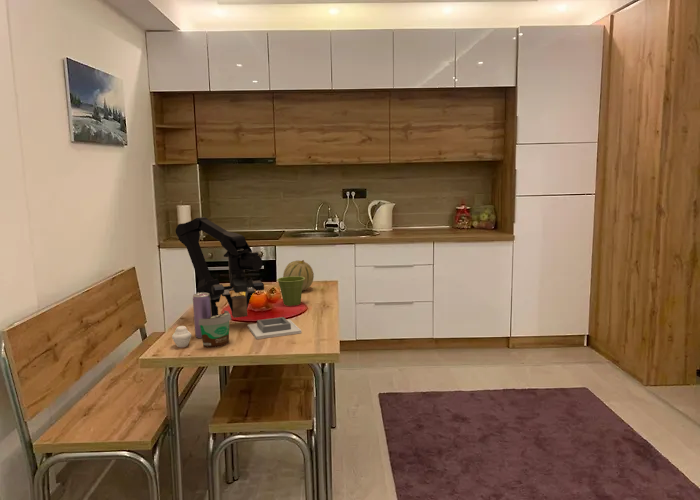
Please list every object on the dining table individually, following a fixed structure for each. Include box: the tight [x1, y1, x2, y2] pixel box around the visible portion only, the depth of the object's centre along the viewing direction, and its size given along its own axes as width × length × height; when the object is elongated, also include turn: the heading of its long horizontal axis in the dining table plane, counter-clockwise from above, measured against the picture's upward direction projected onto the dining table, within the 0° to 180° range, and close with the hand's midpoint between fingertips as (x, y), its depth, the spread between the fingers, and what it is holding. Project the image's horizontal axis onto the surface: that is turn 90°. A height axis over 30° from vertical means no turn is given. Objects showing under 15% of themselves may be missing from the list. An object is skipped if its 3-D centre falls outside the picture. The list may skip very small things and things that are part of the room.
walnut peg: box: [231, 294, 248, 319], centre depth 199 cm, size 5×5×7 cm
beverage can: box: [192, 292, 212, 339], centre depth 185 cm, size 6×6×15 cm
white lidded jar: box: [171, 325, 192, 348], centre depth 176 cm, size 6×6×7 cm
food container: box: [198, 309, 232, 349], centre depth 176 cm, size 12×6×10 cm, turn 148°
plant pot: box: [276, 276, 305, 307], centre depth 228 cm, size 12×12×11 cm
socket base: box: [247, 316, 303, 340], centre depth 191 cm, size 16×16×3 cm
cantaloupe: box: [282, 259, 315, 292], centre depth 253 cm, size 15×15×15 cm
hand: (239, 310), depth 199 cm, fingers closed on walnut peg, 5 cm apart
